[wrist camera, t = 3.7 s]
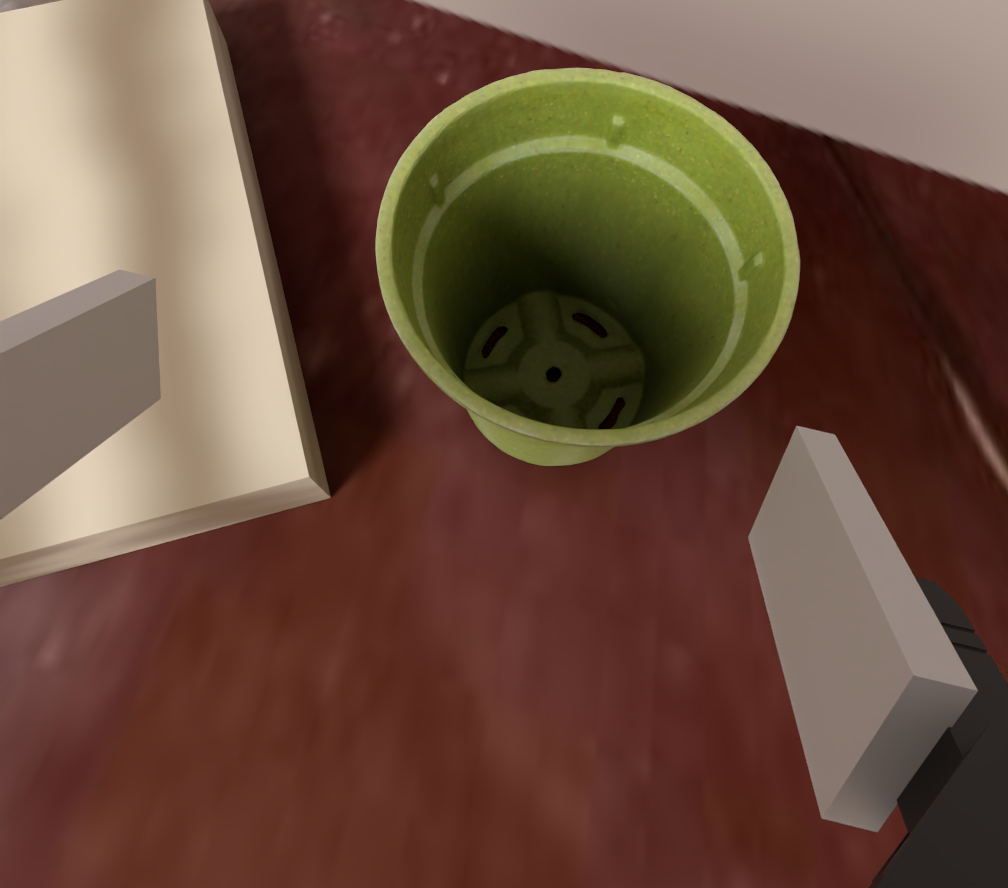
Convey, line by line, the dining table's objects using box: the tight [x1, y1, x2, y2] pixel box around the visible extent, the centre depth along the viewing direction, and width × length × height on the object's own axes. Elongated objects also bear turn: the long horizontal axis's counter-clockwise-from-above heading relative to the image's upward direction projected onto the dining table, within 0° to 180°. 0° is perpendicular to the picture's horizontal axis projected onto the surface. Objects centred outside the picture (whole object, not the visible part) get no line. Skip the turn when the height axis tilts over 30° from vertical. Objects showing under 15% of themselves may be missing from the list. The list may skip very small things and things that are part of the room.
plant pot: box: [376, 68, 800, 466], centre depth 21 cm, size 9×9×9 cm
